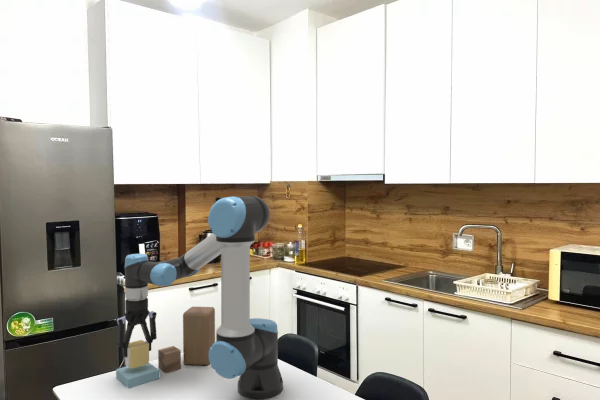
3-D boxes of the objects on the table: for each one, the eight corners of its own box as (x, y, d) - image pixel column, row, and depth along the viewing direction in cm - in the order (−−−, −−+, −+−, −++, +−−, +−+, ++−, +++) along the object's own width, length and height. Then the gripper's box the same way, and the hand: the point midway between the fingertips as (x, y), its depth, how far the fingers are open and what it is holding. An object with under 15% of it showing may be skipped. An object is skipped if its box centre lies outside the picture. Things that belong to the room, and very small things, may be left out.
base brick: (159, 378, 154) (159, 370, 154) (128, 388, 146) (128, 379, 146) (146, 368, 162) (146, 360, 162) (116, 377, 154) (116, 369, 154)
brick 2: (180, 368, 162) (180, 350, 162) (165, 373, 158) (165, 354, 158) (173, 363, 166) (173, 345, 166) (158, 368, 162) (158, 349, 162)
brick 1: (148, 363, 154) (148, 344, 154) (131, 368, 150) (131, 348, 150) (141, 358, 158) (141, 339, 158) (125, 363, 154) (125, 343, 154)
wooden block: (215, 355, 174) (215, 306, 173) (208, 366, 164) (207, 313, 163) (191, 355, 175) (191, 305, 174) (182, 365, 165) (181, 313, 164)
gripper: (157, 291, 162) (158, 352, 163) (105, 300, 149) (105, 367, 150) (166, 295, 157) (167, 358, 158) (112, 305, 144) (113, 374, 145)
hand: (137, 362), depth 154 cm, fingers closed on brick 1, 6 cm apart
